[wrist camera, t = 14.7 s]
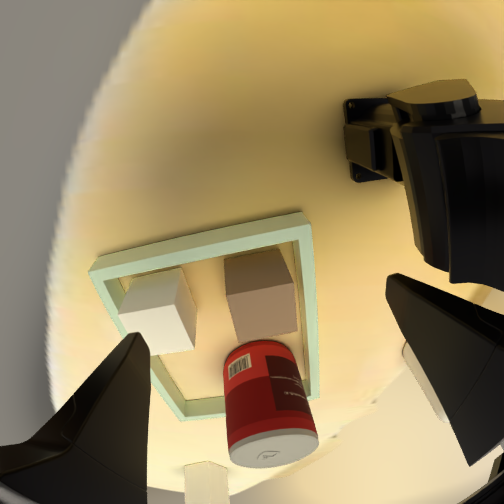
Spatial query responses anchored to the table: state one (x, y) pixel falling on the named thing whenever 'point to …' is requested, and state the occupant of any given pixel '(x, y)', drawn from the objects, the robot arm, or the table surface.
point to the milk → (206, 484)
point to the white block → (161, 311)
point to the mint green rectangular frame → (203, 248)
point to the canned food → (266, 407)
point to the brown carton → (260, 295)
